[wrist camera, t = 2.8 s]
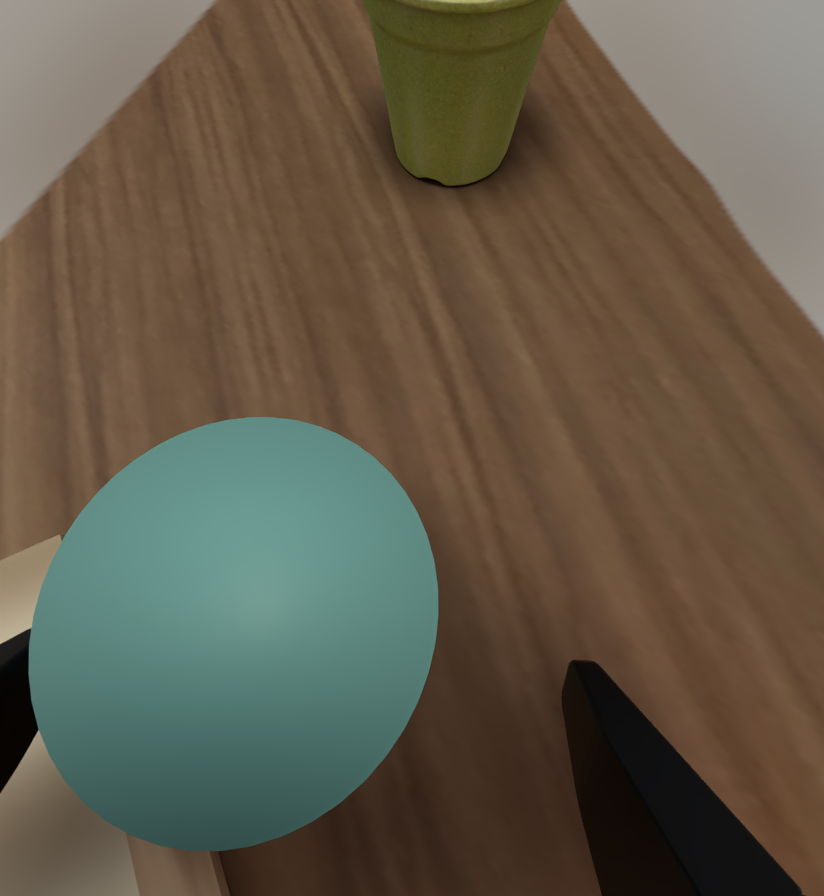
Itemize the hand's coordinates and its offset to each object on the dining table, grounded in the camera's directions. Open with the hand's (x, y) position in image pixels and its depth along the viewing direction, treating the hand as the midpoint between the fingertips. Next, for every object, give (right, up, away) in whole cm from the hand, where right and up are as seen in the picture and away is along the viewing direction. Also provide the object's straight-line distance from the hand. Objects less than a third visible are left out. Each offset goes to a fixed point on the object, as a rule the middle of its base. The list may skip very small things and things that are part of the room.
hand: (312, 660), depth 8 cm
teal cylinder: (0, -2, +9) cm, 9 cm away
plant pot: (+4, +20, +17) cm, 27 cm away
